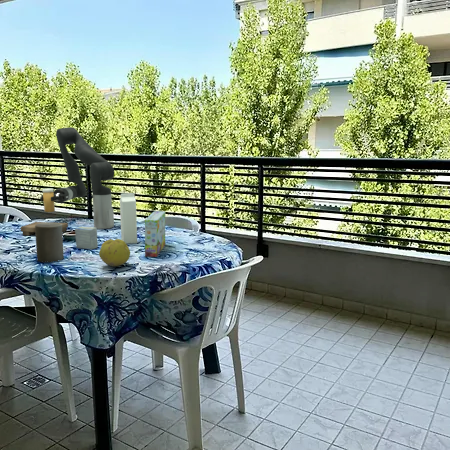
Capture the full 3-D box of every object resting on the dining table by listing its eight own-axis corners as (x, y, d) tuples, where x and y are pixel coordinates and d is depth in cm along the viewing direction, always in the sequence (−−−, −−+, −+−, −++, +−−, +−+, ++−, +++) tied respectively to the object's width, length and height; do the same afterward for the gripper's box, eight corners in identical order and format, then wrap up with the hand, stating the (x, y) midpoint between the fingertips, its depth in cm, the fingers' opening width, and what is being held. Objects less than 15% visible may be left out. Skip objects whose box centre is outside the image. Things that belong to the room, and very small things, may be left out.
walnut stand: (68, 231, 225) (67, 223, 224) (54, 236, 212) (54, 228, 211) (36, 229, 227) (35, 221, 226) (21, 235, 214) (20, 227, 214)
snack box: (158, 257, 179) (157, 219, 176) (144, 257, 179) (143, 219, 176) (166, 244, 200) (165, 210, 197) (153, 244, 200) (152, 210, 197)
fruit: (92, 268, 163) (91, 241, 161) (111, 260, 174) (110, 235, 172) (119, 272, 159) (117, 244, 157) (136, 263, 170) (136, 237, 168)
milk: (137, 242, 202) (136, 193, 198) (123, 244, 200) (122, 194, 195) (134, 239, 208) (133, 192, 203) (121, 241, 205) (119, 192, 201)
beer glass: (57, 210, 234) (55, 188, 232) (51, 212, 229) (50, 189, 227) (47, 210, 235) (45, 188, 233) (42, 212, 230) (40, 189, 228)
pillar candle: (37, 263, 169) (34, 224, 166) (36, 257, 178) (34, 219, 175) (64, 261, 173) (63, 222, 170) (62, 254, 182) (61, 218, 179)
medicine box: (98, 247, 194) (97, 227, 192) (91, 249, 190) (90, 229, 188) (82, 245, 196) (81, 226, 194) (76, 248, 192) (74, 228, 190)
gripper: (50, 187, 245) (32, 191, 229) (75, 188, 243) (59, 191, 227) (51, 201, 247) (33, 206, 230) (75, 202, 245) (60, 206, 228)
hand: (46, 199), depth 229 cm, fingers closed on beer glass, 5 cm apart
